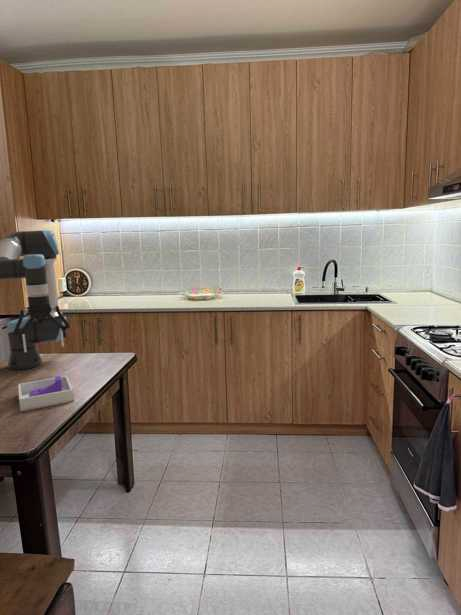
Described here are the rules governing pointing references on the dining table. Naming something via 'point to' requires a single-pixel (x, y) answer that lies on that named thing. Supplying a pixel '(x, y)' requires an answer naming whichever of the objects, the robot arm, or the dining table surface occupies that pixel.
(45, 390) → the bracket
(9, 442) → the dining table surface
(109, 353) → the dining table surface
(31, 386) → the bin
